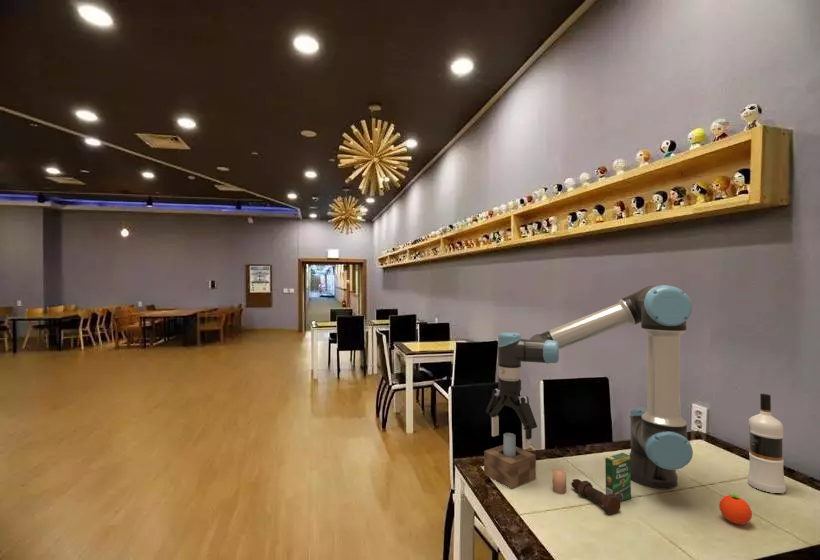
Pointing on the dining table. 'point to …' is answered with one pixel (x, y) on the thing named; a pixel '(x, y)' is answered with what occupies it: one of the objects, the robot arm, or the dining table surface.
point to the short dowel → (559, 481)
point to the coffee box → (618, 476)
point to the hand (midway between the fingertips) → (510, 441)
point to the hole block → (510, 467)
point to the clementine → (735, 509)
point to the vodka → (766, 450)
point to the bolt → (597, 496)
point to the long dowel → (509, 444)
